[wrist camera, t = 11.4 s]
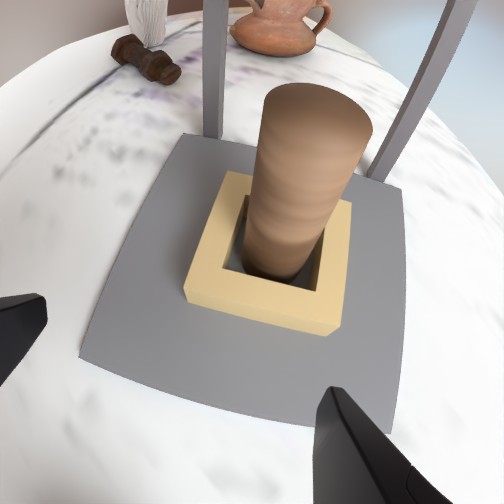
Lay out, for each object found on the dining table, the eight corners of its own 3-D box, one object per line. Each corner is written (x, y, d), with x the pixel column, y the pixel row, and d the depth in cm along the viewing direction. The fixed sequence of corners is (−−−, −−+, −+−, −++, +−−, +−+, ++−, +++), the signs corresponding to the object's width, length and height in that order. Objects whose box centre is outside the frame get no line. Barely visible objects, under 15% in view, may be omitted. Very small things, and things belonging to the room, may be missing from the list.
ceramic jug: (226, 62, 40) (233, -19, 28) (222, 32, 47) (228, -31, 34) (334, 71, 43) (356, 0, 30) (311, 39, 49) (326, -19, 37)
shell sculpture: (177, 46, 43) (176, -44, 27) (131, 57, 41) (122, -35, 25) (167, 33, 46) (165, -45, 30) (126, 43, 44) (118, -37, 28)
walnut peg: (310, 278, 24) (392, 145, 11) (252, 295, 22) (291, 155, 10) (288, 227, 26) (338, 82, 13) (233, 240, 24) (248, 85, 12)
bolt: (169, 99, 37) (123, 68, 41) (194, 74, 37) (144, 47, 41) (148, 78, 32) (104, 50, 36) (176, 50, 31) (126, 28, 35)
